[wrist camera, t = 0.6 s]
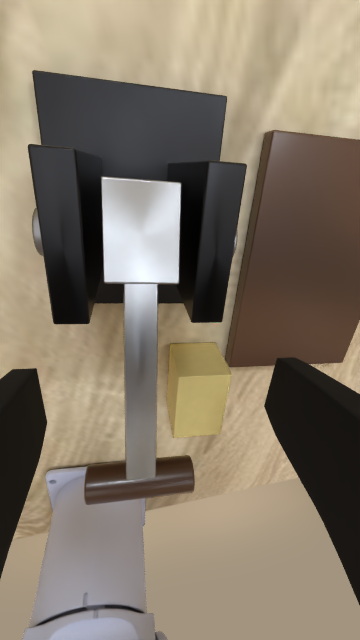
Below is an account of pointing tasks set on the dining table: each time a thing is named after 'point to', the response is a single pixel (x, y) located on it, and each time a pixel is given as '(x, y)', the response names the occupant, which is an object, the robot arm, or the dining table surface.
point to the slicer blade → (140, 332)
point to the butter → (196, 389)
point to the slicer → (135, 163)
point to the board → (300, 254)
